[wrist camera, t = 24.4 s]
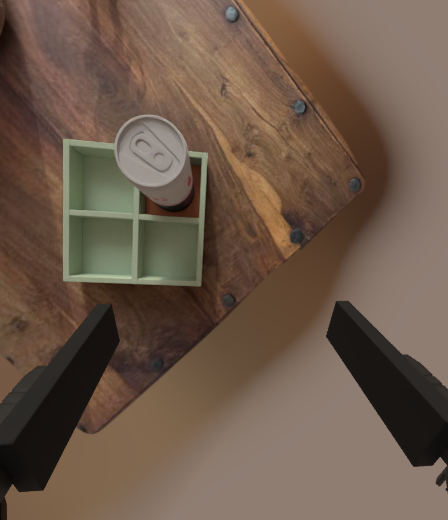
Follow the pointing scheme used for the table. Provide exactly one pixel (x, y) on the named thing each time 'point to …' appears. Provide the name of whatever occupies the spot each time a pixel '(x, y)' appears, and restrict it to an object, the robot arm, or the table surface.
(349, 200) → the table surface
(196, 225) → the grid
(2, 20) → the planter
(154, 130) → the beverage can
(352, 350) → the robot arm
